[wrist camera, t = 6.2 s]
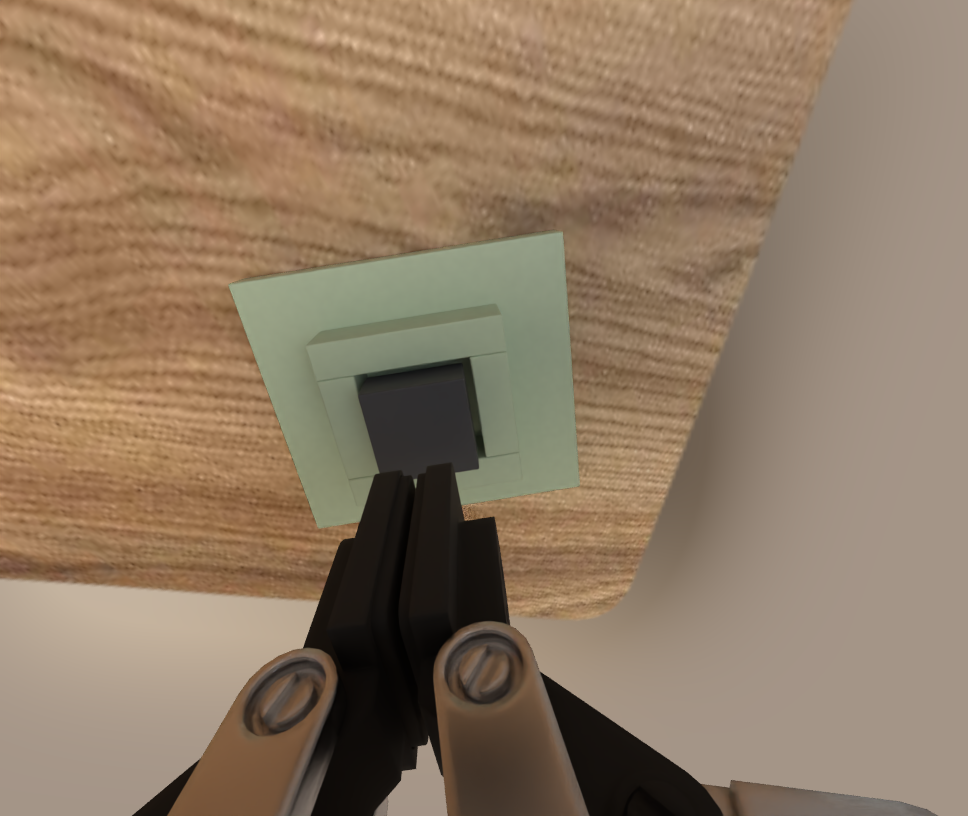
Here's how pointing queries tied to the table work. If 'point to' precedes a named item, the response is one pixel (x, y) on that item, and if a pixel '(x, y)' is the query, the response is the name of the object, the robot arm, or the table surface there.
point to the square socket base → (421, 361)
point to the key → (420, 420)
